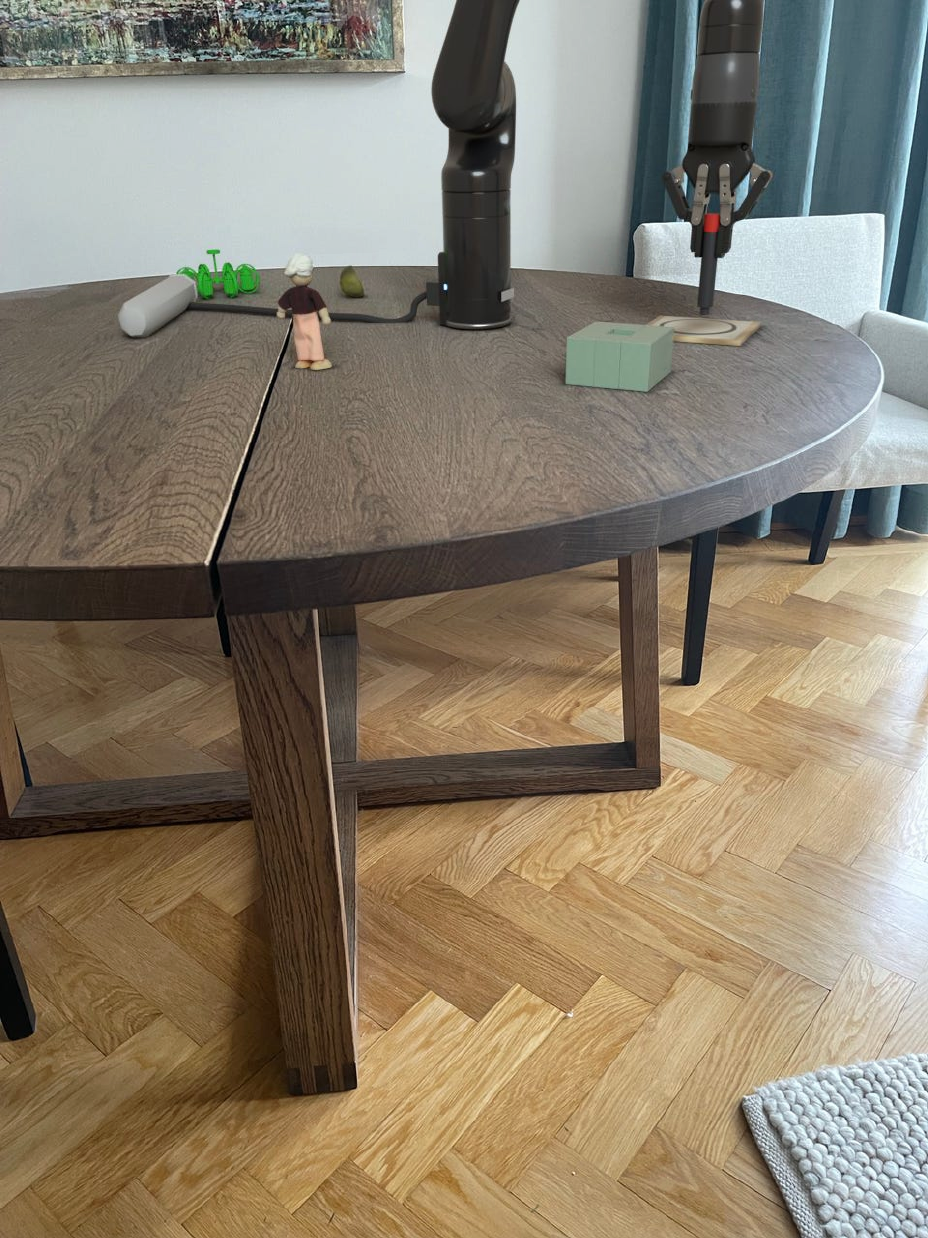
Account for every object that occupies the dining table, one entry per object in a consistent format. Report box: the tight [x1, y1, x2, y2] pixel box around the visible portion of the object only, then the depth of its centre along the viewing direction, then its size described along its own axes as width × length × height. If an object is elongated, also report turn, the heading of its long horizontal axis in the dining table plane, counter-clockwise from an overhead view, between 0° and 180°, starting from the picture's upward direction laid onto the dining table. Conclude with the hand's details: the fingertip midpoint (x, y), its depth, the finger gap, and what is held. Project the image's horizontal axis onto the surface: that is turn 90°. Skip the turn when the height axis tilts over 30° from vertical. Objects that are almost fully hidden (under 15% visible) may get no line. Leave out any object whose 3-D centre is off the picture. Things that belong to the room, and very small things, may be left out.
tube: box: [117, 273, 199, 339], centre depth 137 cm, size 5×5×25 cm
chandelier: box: [175, 249, 261, 300], centre depth 159 cm, size 15×15×7 cm
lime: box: [339, 265, 365, 298], centre depth 152 cm, size 4×5×5 cm
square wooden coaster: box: [645, 315, 762, 347], centre depth 123 cm, size 14×13×1 cm
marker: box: [696, 212, 721, 316], centre depth 117 cm, size 2×2×12 cm
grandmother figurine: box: [276, 253, 333, 371], centre depth 108 cm, size 8×4×13 cm, turn 71°
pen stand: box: [565, 321, 674, 393], centre depth 102 cm, size 9×9×5 cm
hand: (709, 256), depth 117 cm, fingers closed on marker, 2 cm apart
